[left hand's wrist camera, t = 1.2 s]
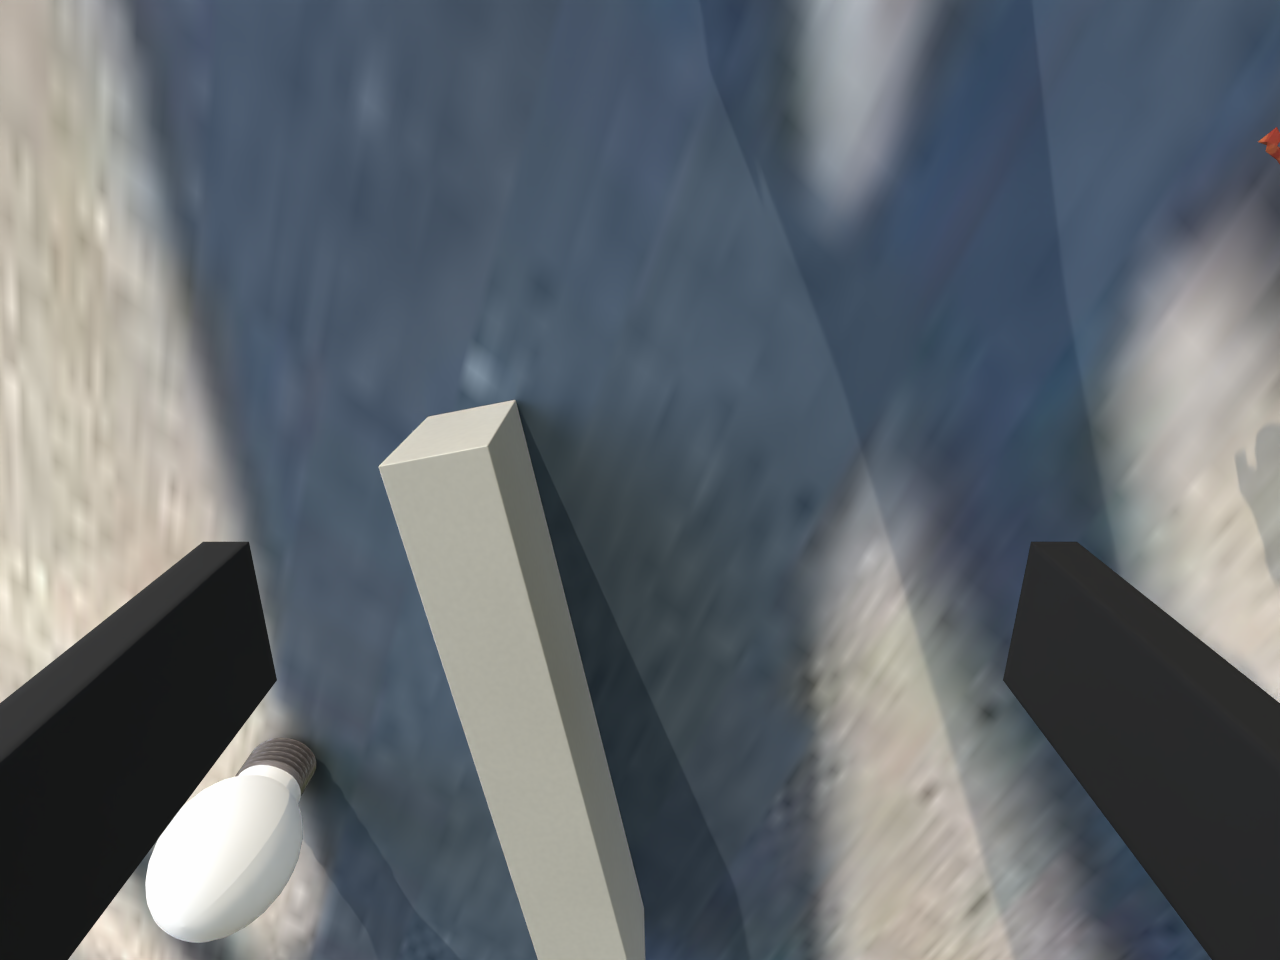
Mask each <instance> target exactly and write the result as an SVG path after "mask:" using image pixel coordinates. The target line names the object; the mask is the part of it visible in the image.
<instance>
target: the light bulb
mask: <svg viewBox="0 0 1280 960" xmlns="http://www.w3.org/2000/svg"><path fill="white" fill-rule="evenodd" d="M315 769H316V759H315V756H314V754H313V752H312V751H311V750H310V749H309V748H308V747H307V746H306V745H305V744H303V743H301V742H299V741H297V740H293V739H289V738H276V739H271V740H268V741H265V742H263V743H261V744H260V745H259V746H257V747H256V748H255V749H254V750H253V752H252V753H251V755H250V756H249V757H248V759H247V760H246V762H245V763H244V764H243V766H242V767H241V769H240V770H239V772H238V773H237V774H236V776H235V777H232V778H228V779H225V780H222V781H220V782H218V783H216V784H214V785H212V786H210V787H208V788H206V789H204V790H202V791H201V792H200V793H199V794H197V795H196V796H195V797H194V798H192V799H191V800H190V801H189V802H187V803H186V804H185V805H184V806H183V807H182V808H181V809H180V810H179V812H178V813H177V814H176V816H175V817H174V818H173V820H172V821H171V822H170V824H169V825H168V826H167V828H166V829H165V830H164V832H163V833H162V834H161V836H160V837H159V839H158V841H157V844H156V846H155V848H154V851H153V853H152V856H151V858H150V861H149V865H148V871H147V876H146V898H147V904H148V907H149V909H150V912H151V914H152V916H153V919H154V920H155V922H156V923H157V925H158V926H159V927H160V928H161V929H162V930H163V931H165V932H166V933H168V934H169V935H171V936H173V937H175V938H177V939H180V940H183V941H188V942H198V943H199V942H208V941H212V940H216V939H220V938H224V937H227V936H229V935H231V934H233V933H235V932H237V931H239V930H241V929H243V928H244V927H246V926H247V925H249V924H250V923H251V922H253V921H254V920H255V919H256V918H258V917H259V916H260V915H261V914H263V913H264V912H265V911H266V910H267V908H268V907H269V906H270V905H271V904H272V903H273V901H274V900H275V899H276V898H277V897H278V896H279V895H280V893H281V892H282V890H283V889H284V887H285V886H286V884H287V882H288V881H289V879H290V877H291V875H292V873H293V871H294V868H295V866H296V863H297V861H298V858H299V854H300V849H301V844H302V839H303V823H302V815H301V812H300V809H299V806H298V804H299V802H300V798H301V795H302V794H303V792H304V790H305V788H306V787H307V785H308V783H309V781H310V779H311V778H312V776H313V774H314V772H315Z"/></svg>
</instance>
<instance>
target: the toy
mask: <svg viewBox="0 0 1280 960" xmlns="http://www.w3.org/2000/svg"><path fill="white" fill-rule="evenodd" d="M1258 142H1260V143H1262V144H1265V145H1267V147H1266V152H1267V153H1269V154H1270V155H1271V156H1272V157H1274V158H1275V159H1276V160H1277V161H1278V162H1279V164H1280V148H1279V147H1278V146H1277V145H1278V143H1279V142H1280V133H1279V131H1278V128H1277V127H1276V128H1275V129H1274V130H1272V131H1271V132H1270V133H1269V134H1267V135H1266V136H1265V137H1263V138H1262V139H1261V140H1260V141H1258Z"/></svg>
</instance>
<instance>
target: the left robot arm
mask: <svg viewBox="0 0 1280 960" xmlns="http://www.w3.org/2000/svg"><path fill="white" fill-rule="evenodd" d="M276 681H277V679H276V674H275V669H274V664H273V659H272V654H271V649H270V644H269V639H268V634H267V629H266V624H265V619H264V614H263V609H262V604H261V600H260V595H259V590H258V585H257V580H256V575H255V570H254V565H253V560H252V555H251V550H250V545H249V542H202V543H201V544H200V545H199V546H197V547H196V548H195V549H194V550H192V551H191V552H190V553H189V554H187V555H186V556H185V557H184V558H182V559H181V560H180V561H179V562H177V563H176V564H175V565H174V566H172V567H171V568H170V569H168V570H167V571H166V572H165V573H163V574H162V575H161V576H160V577H158V578H157V579H156V580H155V581H153V582H152V583H151V584H150V585H148V586H147V587H146V588H145V589H143V590H142V591H141V592H140V593H138V594H137V595H136V596H135V597H133V598H132V599H131V600H130V601H128V602H127V603H126V604H124V605H123V606H122V607H121V608H119V609H118V610H117V611H116V612H114V613H113V614H112V615H111V616H109V617H108V618H107V619H106V620H104V621H103V622H102V623H101V624H99V625H98V626H97V627H96V628H94V629H93V630H92V631H91V632H89V633H88V634H87V635H86V636H84V637H83V638H82V639H80V640H79V641H78V642H77V643H75V644H74V645H73V646H72V647H70V648H69V649H68V650H67V651H65V652H64V653H63V654H62V655H60V656H59V657H58V658H57V659H55V660H54V661H53V662H52V663H50V664H49V665H48V666H47V667H45V668H44V669H43V670H42V671H40V672H39V673H38V674H36V675H35V676H34V677H33V678H31V679H30V680H29V681H28V682H26V683H25V684H24V685H23V686H21V687H20V688H19V689H18V690H16V691H15V692H14V693H13V694H11V695H10V696H9V697H8V698H6V699H5V700H4V701H3V702H1V703H0V960H68V959H69V957H70V956H71V955H72V953H73V952H74V951H75V949H76V948H77V947H78V945H79V944H80V943H81V941H82V940H83V939H84V937H85V936H86V935H87V933H88V932H89V931H90V929H91V928H92V927H93V925H94V924H95V923H96V921H97V920H98V919H99V917H100V916H101V915H102V913H103V912H104V911H105V909H106V908H107V907H108V905H109V904H110V903H111V901H112V900H113V899H114V897H115V896H116V895H117V893H118V892H119V891H120V889H121V888H122V887H123V885H124V884H125V883H126V881H127V880H128V879H129V877H130V876H131V875H132V873H133V872H134V871H135V869H136V868H137V866H138V865H139V864H140V862H141V861H142V860H143V858H144V857H145V856H146V854H147V853H148V852H149V850H150V849H151V848H152V846H153V845H154V844H155V842H156V841H157V840H158V838H159V837H160V836H161V834H162V833H163V832H164V830H165V829H166V828H167V826H168V825H169V824H170V822H171V821H172V820H173V818H174V817H175V816H176V814H177V813H178V812H179V810H180V809H181V808H182V806H183V805H184V804H185V802H186V801H187V800H188V798H189V797H190V796H191V794H192V793H193V792H194V790H195V789H196V788H197V786H198V785H199V784H200V782H201V781H202V780H203V778H204V777H205V776H206V774H207V773H208V772H209V770H210V769H211V768H212V766H213V765H214V764H215V762H216V761H217V759H218V758H219V757H220V755H221V754H222V753H223V751H224V750H225V749H226V747H227V746H228V745H229V743H230V742H231V741H232V739H233V738H234V737H235V735H236V734H237V733H238V731H239V730H240V729H241V727H242V726H243V725H244V723H245V722H246V721H247V719H248V718H249V717H250V715H251V714H252V713H253V711H254V710H255V709H256V707H257V706H258V705H259V703H260V702H261V701H262V699H263V698H264V697H265V695H266V694H267V693H268V691H269V690H270V689H271V687H272V686H273V685H274V683H275V682H276ZM1003 681H1004V682H1005V683H1006V685H1007V686H1008V687H1009V689H1010V690H1011V691H1012V693H1013V694H1014V695H1015V697H1016V698H1017V699H1018V701H1019V702H1020V703H1021V705H1022V706H1023V707H1024V709H1025V710H1026V711H1027V713H1028V714H1029V715H1030V717H1031V718H1032V719H1033V721H1034V722H1035V723H1036V725H1037V726H1038V727H1039V729H1040V730H1041V731H1042V733H1043V734H1044V735H1045V737H1046V738H1047V739H1048V741H1049V742H1050V743H1051V745H1052V746H1053V747H1054V749H1055V750H1056V751H1057V753H1058V754H1059V755H1060V757H1061V758H1062V759H1063V761H1064V762H1065V764H1066V765H1067V766H1068V768H1069V769H1070V770H1071V772H1072V773H1073V774H1074V776H1075V777H1076V778H1077V780H1078V781H1079V782H1080V784H1081V785H1082V786H1083V788H1084V789H1085V790H1086V792H1087V793H1088V794H1089V796H1090V797H1091V798H1092V800H1093V801H1094V802H1095V804H1096V805H1097V806H1098V808H1099V809H1100V810H1101V812H1102V813H1103V814H1104V816H1105V817H1106V818H1107V820H1108V821H1109V822H1110V824H1111V825H1112V826H1113V828H1114V829H1115V830H1116V832H1117V833H1118V834H1119V836H1120V837H1121V838H1122V840H1123V841H1124V842H1125V844H1126V845H1127V846H1128V848H1129V849H1130V850H1131V852H1132V853H1133V854H1134V856H1135V857H1136V858H1137V860H1138V861H1139V862H1140V864H1141V865H1142V866H1143V868H1144V869H1145V871H1146V872H1147V873H1148V875H1149V876H1150V877H1151V879H1152V880H1153V881H1154V883H1155V884H1156V885H1157V887H1158V888H1159V889H1160V891H1161V892H1162V893H1163V895H1164V896H1165V897H1166V899H1167V900H1168V901H1169V903H1170V904H1171V905H1172V907H1173V908H1174V909H1175V911H1176V912H1177V913H1178V915H1179V916H1180V917H1181V919H1182V920H1183V921H1184V923H1185V924H1186V925H1187V927H1188V928H1189V929H1190V931H1191V932H1192V933H1193V935H1194V936H1195V937H1196V939H1197V940H1198V941H1199V943H1200V944H1201V945H1202V947H1203V948H1204V949H1205V951H1206V952H1207V953H1208V955H1209V956H1210V957H1211V959H1212V960H1280V703H1279V702H1277V701H1276V700H1275V699H1274V698H1272V697H1271V696H1270V695H1269V694H1267V693H1266V692H1265V691H1264V690H1262V689H1261V688H1260V687H1259V686H1257V685H1256V684H1255V683H1254V682H1252V681H1251V680H1250V679H1249V678H1247V677H1246V676H1245V675H1244V674H1242V673H1241V672H1240V671H1238V670H1237V669H1236V668H1235V667H1233V666H1232V665H1231V664H1230V663H1228V662H1227V661H1226V660H1225V659H1223V658H1222V657H1221V656H1220V655H1218V654H1217V653H1216V652H1215V651H1213V650H1212V649H1211V648H1210V647H1208V646H1207V645H1206V644H1205V643H1203V642H1202V641H1201V640H1200V639H1198V638H1197V637H1196V636H1194V635H1193V634H1192V633H1191V632H1189V631H1188V630H1187V629H1186V628H1184V627H1183V626H1182V625H1181V624H1179V623H1178V622H1177V621H1176V620H1174V619H1173V618H1172V617H1171V616H1169V615H1168V614H1167V613H1166V612H1164V611H1163V610H1162V609H1161V608H1159V607H1158V606H1157V605H1156V604H1154V603H1153V602H1152V601H1150V600H1149V599H1148V598H1147V597H1145V596H1144V595H1143V594H1142V593H1140V592H1139V591H1138V590H1137V589H1135V588H1134V587H1133V586H1132V585H1130V584H1129V583H1128V582H1127V581H1125V580H1124V579H1123V578H1122V577H1120V576H1119V575H1118V574H1117V573H1115V572H1114V571H1113V570H1112V569H1110V568H1109V567H1108V566H1106V565H1105V564H1104V563H1103V562H1101V561H1100V560H1099V559H1098V558H1096V557H1095V556H1094V555H1093V554H1091V553H1090V552H1089V551H1088V550H1086V549H1085V548H1084V547H1083V546H1081V545H1080V544H1079V543H1078V542H1031V545H1030V550H1029V555H1028V560H1027V565H1026V570H1025V575H1024V580H1023V585H1022V590H1021V595H1020V600H1019V604H1018V609H1017V614H1016V619H1015V624H1014V629H1013V634H1012V639H1011V644H1010V649H1009V654H1008V659H1007V664H1006V669H1005V674H1004V679H1003Z"/></svg>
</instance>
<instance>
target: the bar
mask: <svg viewBox="0 0 1280 960" xmlns="http://www.w3.org/2000/svg"><path fill="white" fill-rule="evenodd" d="M379 470H380V473H381V476H382V479H383V482H384V485H385V488H386V491H387V494H388V498H389V501H390V504H391V507H392V510H393V513H394V516H395V519H396V522H397V525H398V528H399V531H400V535H401V538H402V541H403V544H404V547H405V550H406V553H407V556H408V559H409V562H410V565H411V569H412V572H413V575H414V578H415V581H416V584H417V587H418V590H419V593H420V596H421V599H422V602H423V606H424V609H425V612H426V615H427V618H428V621H429V624H430V627H431V630H432V633H433V636H434V640H435V643H436V646H437V649H438V652H439V655H440V658H441V661H442V664H443V667H444V670H445V673H446V677H447V680H448V683H449V686H450V689H451V692H452V695H453V698H454V701H455V704H456V707H457V711H458V714H459V717H460V720H461V723H462V726H463V729H464V732H465V735H466V738H467V741H468V745H469V748H470V751H471V754H472V757H473V760H474V763H475V766H476V769H477V772H478V775H479V778H480V782H481V785H482V788H483V791H484V794H485V797H486V800H487V803H488V806H489V809H490V812H491V816H492V819H493V822H494V825H495V828H496V831H497V834H498V837H499V840H500V843H501V846H502V849H503V853H504V856H505V859H506V862H507V865H508V868H509V871H510V874H511V877H512V880H513V883H514V887H515V890H516V893H517V896H518V899H519V902H520V905H521V908H522V911H523V914H524V917H525V920H526V924H527V927H528V930H529V933H530V936H531V939H532V942H533V945H534V948H535V951H536V954H537V958H538V960H645V931H644V906H643V902H642V898H641V894H640V890H639V886H638V882H637V878H636V874H635V870H634V866H633V862H632V859H631V855H630V851H629V847H628V843H627V839H626V835H625V831H624V827H623V823H622V819H621V815H620V811H619V807H618V803H617V799H616V795H615V791H614V787H613V783H612V779H611V775H610V771H609V768H608V764H607V760H606V756H605V752H604V748H603V744H602V740H601V736H600V732H599V728H598V724H597V720H596V716H595V712H594V708H593V704H592V700H591V696H590V692H589V688H588V684H587V680H586V676H585V673H584V669H583V665H582V661H581V657H580V653H579V649H578V645H577V641H576V637H575V633H574V629H573V625H572V621H571V617H570V613H569V609H568V605H567V601H566V597H565V593H564V589H563V585H562V582H561V578H560V574H559V570H558V566H557V562H556V558H555V554H554V550H553V546H552V542H551V538H550V534H549V530H548V526H547V522H546V518H545V514H544V510H543V506H542V502H541V498H540V494H539V491H538V487H537V483H536V479H535V475H534V471H533V467H532V463H531V459H530V455H529V451H528V447H527V443H526V439H525V435H524V431H523V427H522V423H521V419H520V415H519V411H518V407H517V403H516V400H512V401H507V402H502V403H497V404H491V405H486V406H481V407H476V408H471V409H466V410H460V411H455V412H450V413H445V414H440V415H435V416H430V417H427V418H426V419H425V420H424V421H423V422H422V423H421V424H420V425H419V426H418V427H417V428H416V429H415V430H414V431H413V432H412V433H411V434H410V435H409V436H408V437H407V438H406V439H405V440H404V441H403V442H402V443H401V444H400V445H399V446H398V447H397V448H396V449H395V450H394V451H393V452H392V453H391V454H390V455H389V456H388V457H387V458H386V459H385V460H384V461H383V462H382V463H381V464H380V465H379Z"/></svg>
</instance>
